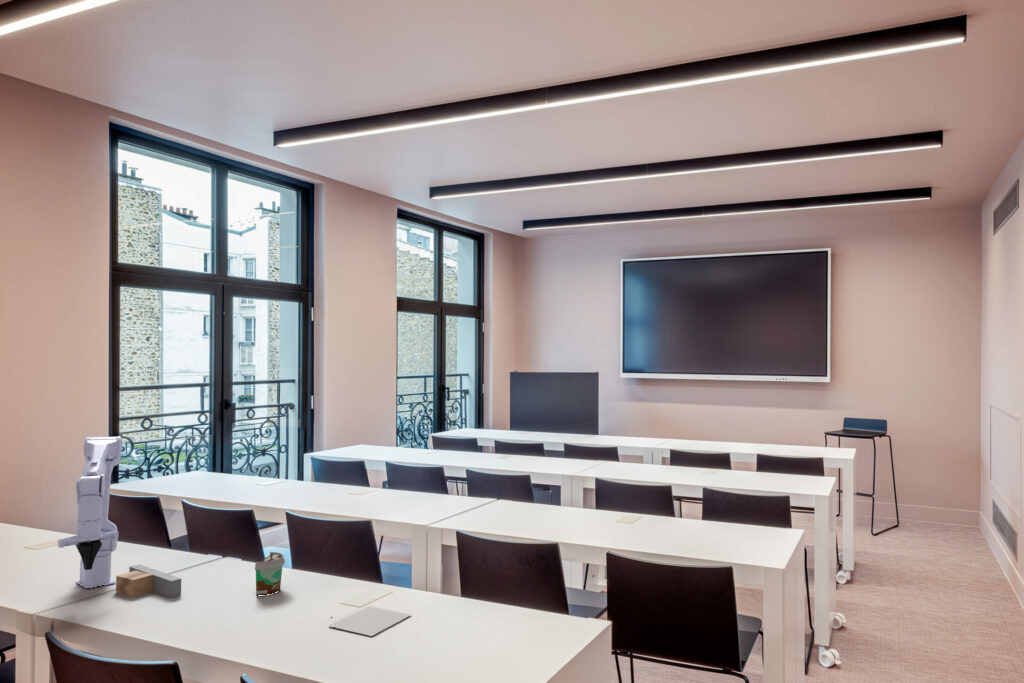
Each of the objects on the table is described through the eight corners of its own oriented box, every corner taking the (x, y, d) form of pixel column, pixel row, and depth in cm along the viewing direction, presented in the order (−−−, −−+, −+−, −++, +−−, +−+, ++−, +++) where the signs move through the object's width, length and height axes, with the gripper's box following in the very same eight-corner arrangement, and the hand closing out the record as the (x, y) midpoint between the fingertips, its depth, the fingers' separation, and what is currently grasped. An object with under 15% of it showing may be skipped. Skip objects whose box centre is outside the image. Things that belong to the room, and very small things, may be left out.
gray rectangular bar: (128, 583, 212) (129, 566, 212) (138, 580, 214) (139, 564, 215) (170, 598, 198) (171, 581, 198) (180, 596, 200) (181, 578, 201)
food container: (275, 598, 198) (276, 563, 199) (254, 598, 198) (254, 562, 199) (290, 585, 210) (291, 551, 211) (270, 584, 211) (270, 551, 211)
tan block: (115, 593, 202) (116, 575, 202) (135, 587, 207) (135, 570, 208) (133, 597, 198) (133, 579, 199) (152, 591, 204) (153, 574, 204)
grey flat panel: (299, 622, 181) (299, 619, 181) (361, 594, 203) (361, 592, 203) (371, 638, 170) (371, 635, 170) (428, 608, 192) (428, 605, 192)
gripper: (64, 525, 186) (62, 577, 185) (123, 517, 196) (121, 566, 196) (55, 521, 190) (54, 572, 190) (113, 513, 201) (112, 561, 201)
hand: (87, 569), depth 193 cm, fingers closed
